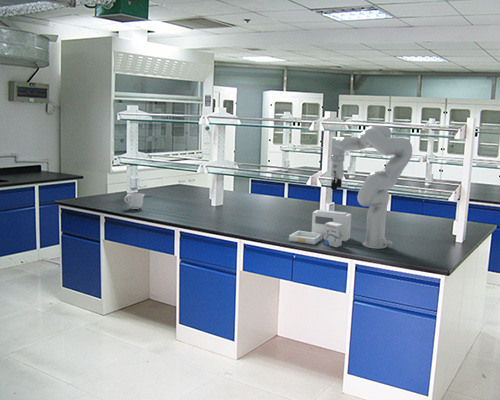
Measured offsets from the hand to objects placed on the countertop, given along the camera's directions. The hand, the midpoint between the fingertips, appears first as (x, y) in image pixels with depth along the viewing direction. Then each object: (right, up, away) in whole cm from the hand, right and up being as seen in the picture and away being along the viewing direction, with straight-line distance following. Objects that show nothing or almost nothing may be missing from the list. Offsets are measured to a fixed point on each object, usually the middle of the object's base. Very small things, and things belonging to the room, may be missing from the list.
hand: (336, 188), depth 299 cm
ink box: (-6, -31, -22) cm, 38 cm away
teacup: (-129, -13, +60) cm, 143 cm away
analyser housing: (-4, -28, -6) cm, 29 cm away
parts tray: (-19, -29, -13) cm, 37 cm away
